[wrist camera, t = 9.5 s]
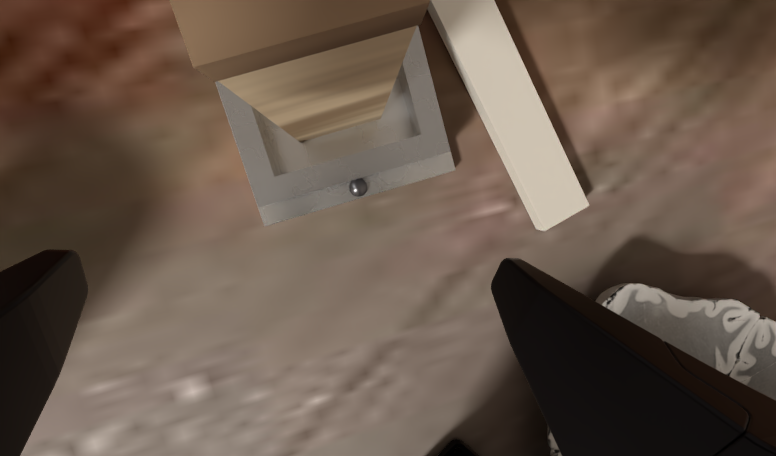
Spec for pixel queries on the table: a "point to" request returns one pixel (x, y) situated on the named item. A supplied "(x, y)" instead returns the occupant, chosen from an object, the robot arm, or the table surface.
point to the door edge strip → (509, 108)
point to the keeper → (344, 148)
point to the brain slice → (701, 332)
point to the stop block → (303, 56)
